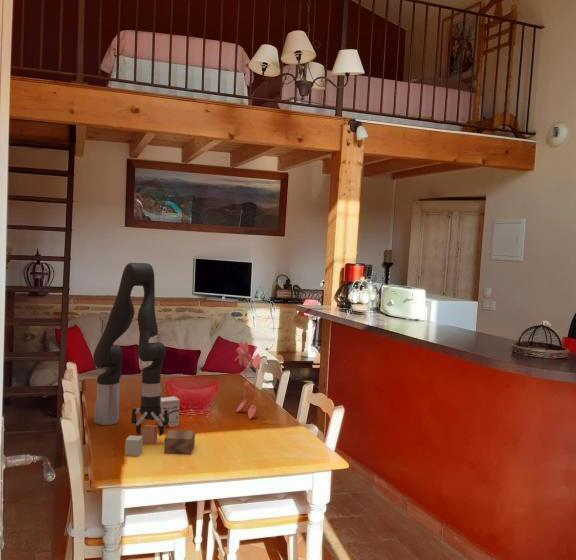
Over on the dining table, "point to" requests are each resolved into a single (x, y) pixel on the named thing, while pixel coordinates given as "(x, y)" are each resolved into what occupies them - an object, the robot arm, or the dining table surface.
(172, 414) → the ink box
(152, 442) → the terracotta block
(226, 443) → the dining table surface
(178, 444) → the walnut block
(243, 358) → the pink artificial flower
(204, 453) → the dining table surface
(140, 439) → the sage block
